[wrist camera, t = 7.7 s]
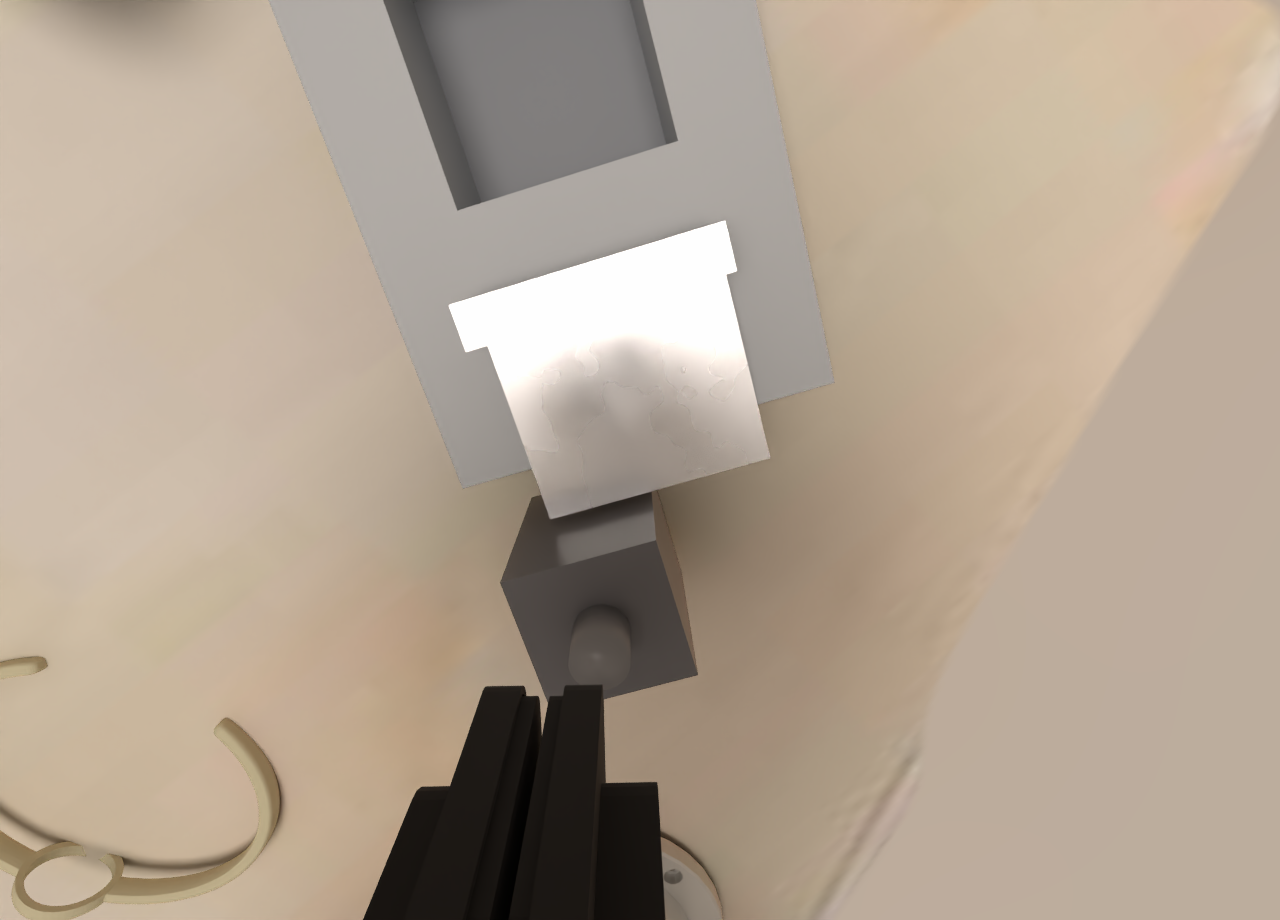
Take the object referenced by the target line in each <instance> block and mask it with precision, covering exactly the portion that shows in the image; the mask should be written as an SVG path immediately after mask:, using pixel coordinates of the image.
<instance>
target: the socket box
mask: <svg viewBox="0 0 1280 920" xmlns="http://www.w3.org/2000/svg"><path fill="white" fill-rule="evenodd" d="M269 3H270V5H271V8H272V10H273V13H274V15H275V18H276V20H277V23H278V25H279V28H280V30H281V33H282V36H283V38H284V41H285V43H286V46H287V48H288V51H289V53H290V56H291V58H292V61H293V63H294V66H295V68H296V71H297V73H298V76H299V78H300V81H301V83H302V86H303V88H304V91H305V93H306V96H307V98H308V101H309V103H310V106H311V108H312V111H313V113H314V116H315V118H316V121H317V124H318V126H319V129H320V131H321V134H322V136H323V139H324V141H325V144H326V146H327V149H328V151H329V154H330V156H331V159H332V161H333V164H334V166H335V169H336V171H337V174H338V176H339V179H340V181H341V184H342V186H343V189H344V191H345V194H346V196H347V199H348V201H349V204H350V206H351V209H352V211H353V214H354V217H355V219H356V222H357V224H358V227H359V229H360V232H361V234H362V237H363V239H364V242H365V244H366V247H367V249H368V252H369V254H370V257H371V259H372V262H373V264H374V267H375V269H376V272H377V274H378V277H379V279H380V282H381V284H382V287H383V289H384V292H385V294H386V297H387V299H388V302H389V305H390V307H391V310H392V312H393V315H394V317H395V320H396V322H397V325H398V327H399V330H400V332H401V335H402V337H403V340H404V342H405V345H406V347H407V350H408V352H409V355H410V357H411V360H412V362H413V365H414V367H415V370H416V372H417V375H418V377H419V380H420V382H421V385H422V387H423V390H424V393H425V395H426V398H427V400H428V403H429V405H430V408H431V410H432V413H433V415H434V418H435V420H436V423H437V425H438V428H439V430H440V433H441V435H442V438H443V440H444V443H445V445H446V448H447V450H448V453H449V455H450V458H451V460H452V463H453V465H454V468H455V470H456V473H457V475H458V478H459V481H460V483H461V486H462V488H467V487H470V486H474V485H477V484H481V483H484V482H488V481H491V480H495V479H498V478H502V477H505V476H509V475H512V474H516V473H519V472H523V471H527V470H530V469H532V468H531V465H530V462H529V459H528V456H527V454H526V451H525V448H524V445H523V443H522V440H521V437H520V434H519V431H518V429H517V426H516V423H515V420H514V418H513V415H512V412H511V409H510V407H509V404H508V401H507V398H506V395H505V393H504V390H503V387H502V384H501V382H500V379H499V376H498V373H497V370H496V368H495V365H494V362H493V359H492V357H491V354H490V351H489V348H488V346H485V347H481V348H478V349H475V350H471V351H468V352H466V351H465V348H464V345H463V343H462V340H461V337H460V335H459V332H458V329H457V327H456V324H455V321H454V318H453V316H452V313H451V310H450V308H449V305H450V304H453V303H456V302H458V301H461V300H464V299H466V298H469V297H472V296H474V295H478V294H481V293H484V292H487V291H491V290H494V289H497V288H500V287H504V286H507V285H510V284H513V283H517V282H520V281H523V280H527V279H530V278H533V277H536V276H540V275H543V274H546V273H549V272H553V271H556V270H559V269H563V268H566V267H569V266H572V265H576V264H579V263H582V262H585V261H589V260H592V259H595V258H598V257H602V256H605V255H608V254H612V253H615V252H618V251H621V250H625V249H628V248H631V247H634V246H638V245H641V244H644V243H648V242H651V241H654V240H657V239H661V238H664V237H667V236H670V235H674V234H677V233H680V232H683V231H687V230H690V229H693V228H697V227H700V226H703V225H706V224H710V223H715V222H720V221H725V222H726V227H727V231H728V235H729V239H730V243H731V248H732V252H733V256H734V260H735V264H736V269H737V271H735V272H732V273H728V274H726V277H727V281H728V285H729V290H730V294H731V298H732V302H733V306H734V310H735V314H736V318H737V322H738V326H739V331H740V335H741V339H742V343H743V347H744V351H745V355H746V359H747V363H748V367H749V371H750V376H751V380H752V384H753V388H754V392H755V396H756V400H757V404H762V403H765V402H769V401H772V400H776V399H779V398H783V397H786V396H790V395H793V394H797V393H800V392H804V391H807V390H811V389H814V388H818V387H821V386H825V385H828V384H832V383H835V382H834V378H833V373H832V368H831V363H830V358H829V353H828V348H827V344H826V339H825V334H824V329H823V324H822V319H821V314H820V310H819V305H818V300H817V295H816V290H815V285H814V280H813V276H812V271H811V266H810V261H809V256H808V251H807V246H806V242H805V237H804V232H803V227H802V222H801V217H800V212H799V208H798V203H797V198H796V193H795V188H794V183H793V178H792V174H791V169H790V164H789V159H788V154H787V149H786V144H785V140H784V135H783V130H782V125H781V120H780V115H779V110H778V106H777V101H776V96H775V91H774V86H773V81H772V76H771V72H770V67H769V62H768V57H767V52H766V47H765V42H764V38H763V33H762V28H761V23H760V18H759V13H758V8H757V4H756V0H269Z"/></svg>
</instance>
